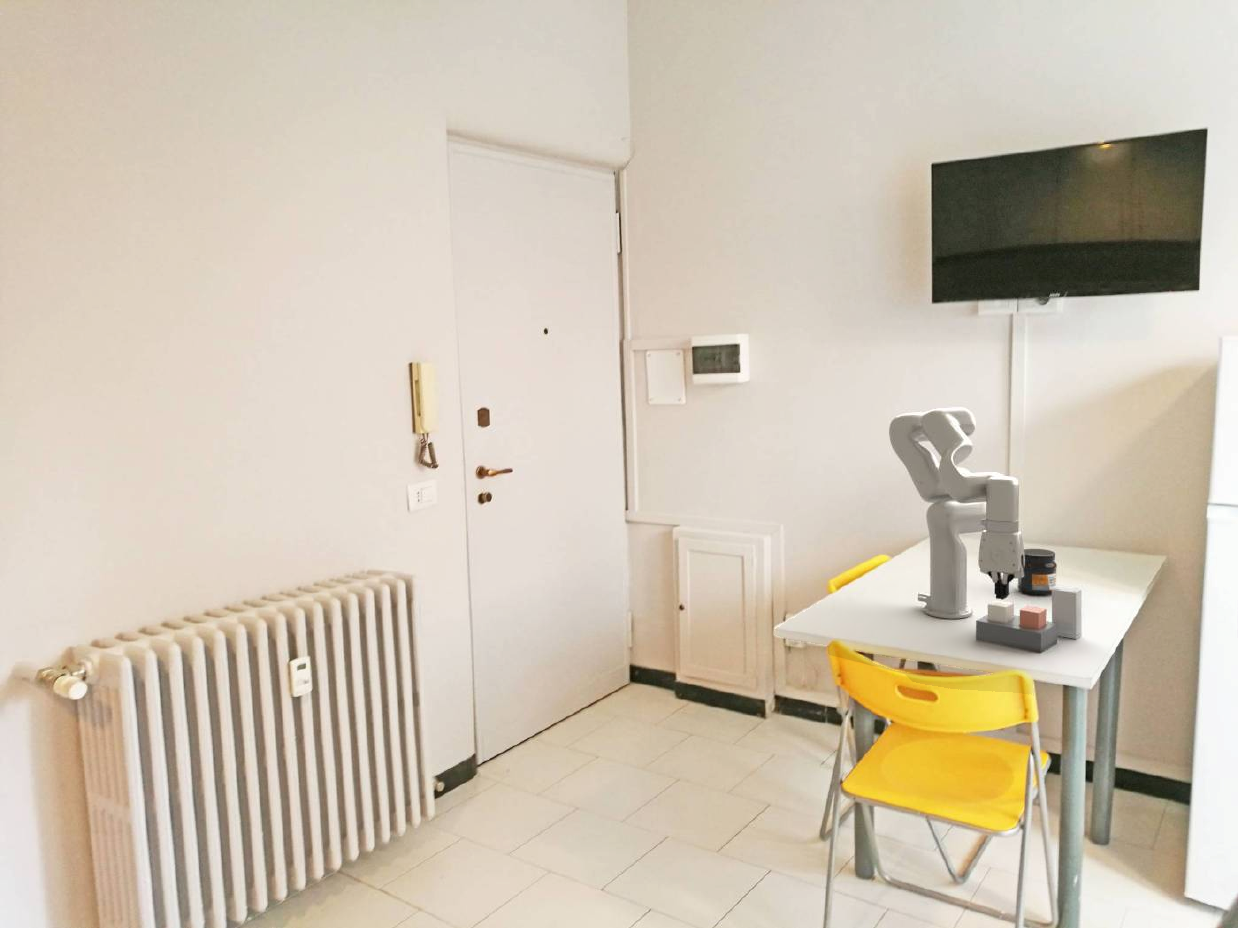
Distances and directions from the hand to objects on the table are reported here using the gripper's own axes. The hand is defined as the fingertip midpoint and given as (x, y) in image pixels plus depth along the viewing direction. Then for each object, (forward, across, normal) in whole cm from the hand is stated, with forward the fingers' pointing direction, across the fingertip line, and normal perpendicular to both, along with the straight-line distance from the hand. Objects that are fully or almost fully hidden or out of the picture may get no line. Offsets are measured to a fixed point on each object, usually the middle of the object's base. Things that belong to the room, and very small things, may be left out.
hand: (1001, 597), depth 230 cm
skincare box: (+11, +11, +12) cm, 20 cm away
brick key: (+6, +8, 0) cm, 10 cm away
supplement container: (+10, -10, +47) cm, 49 cm away
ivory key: (+6, 0, 0) cm, 6 cm away
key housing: (+11, +4, 0) cm, 11 cm away
